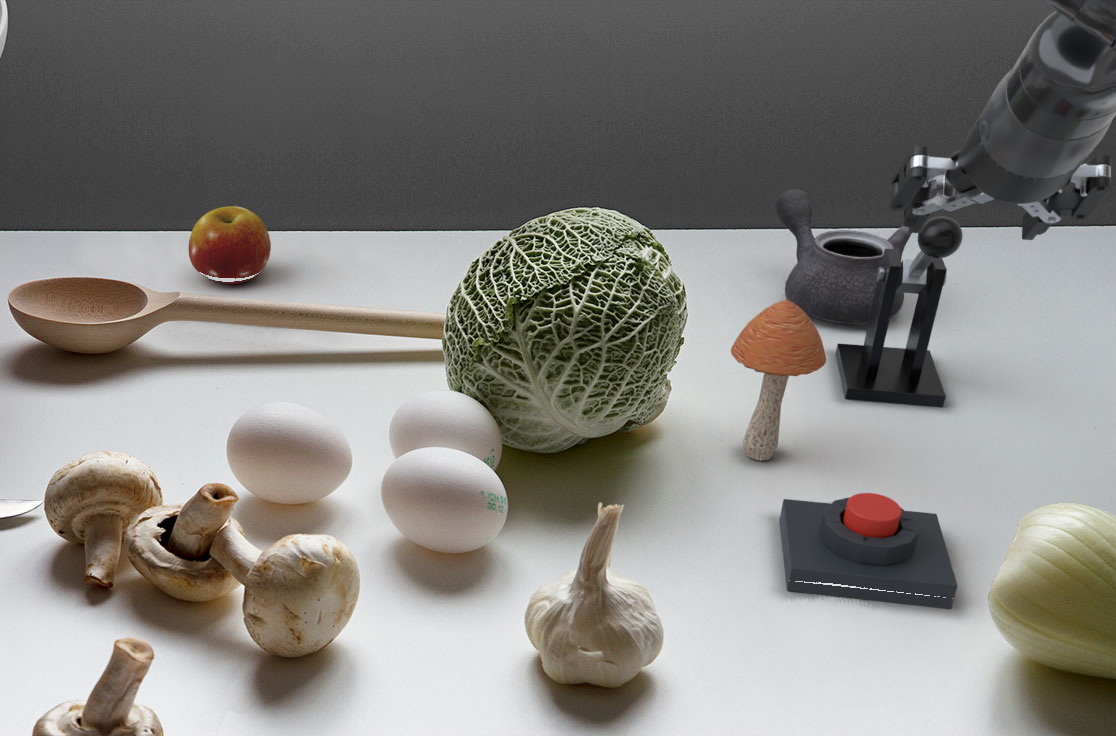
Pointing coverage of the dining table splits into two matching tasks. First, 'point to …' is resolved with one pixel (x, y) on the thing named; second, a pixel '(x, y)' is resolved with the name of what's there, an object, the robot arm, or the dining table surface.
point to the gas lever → (929, 252)
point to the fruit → (229, 244)
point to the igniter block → (865, 556)
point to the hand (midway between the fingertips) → (969, 225)
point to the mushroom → (776, 366)
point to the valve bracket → (895, 369)
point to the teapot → (835, 265)
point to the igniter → (872, 515)
